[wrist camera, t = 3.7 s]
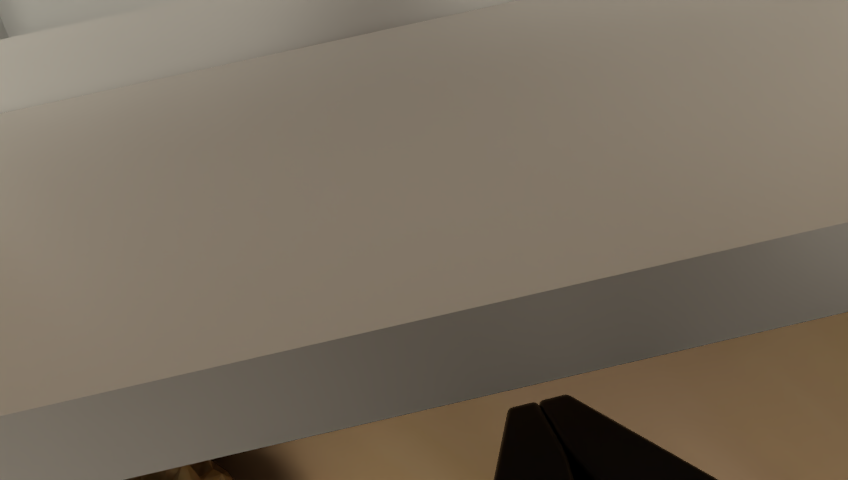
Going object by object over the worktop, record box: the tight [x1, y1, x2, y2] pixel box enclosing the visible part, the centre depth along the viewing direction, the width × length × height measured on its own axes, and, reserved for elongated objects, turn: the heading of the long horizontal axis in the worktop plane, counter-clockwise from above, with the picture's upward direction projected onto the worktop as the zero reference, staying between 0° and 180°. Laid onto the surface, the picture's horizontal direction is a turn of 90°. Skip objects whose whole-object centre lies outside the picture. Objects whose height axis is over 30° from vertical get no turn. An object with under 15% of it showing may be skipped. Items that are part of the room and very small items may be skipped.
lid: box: [0, 0, 848, 480], centre depth 8 cm, size 20×8×1 cm
